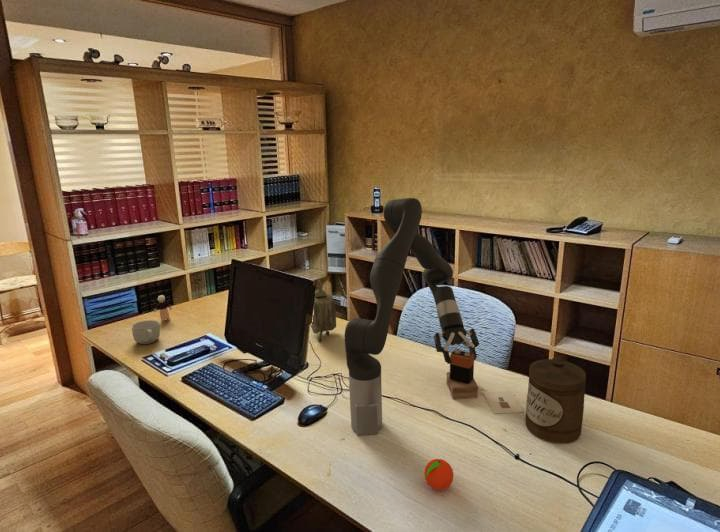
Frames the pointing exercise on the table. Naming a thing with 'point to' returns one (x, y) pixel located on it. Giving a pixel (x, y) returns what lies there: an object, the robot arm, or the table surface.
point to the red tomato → (438, 474)
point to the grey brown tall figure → (323, 312)
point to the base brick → (462, 388)
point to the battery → (462, 366)
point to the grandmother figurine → (163, 309)
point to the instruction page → (502, 402)
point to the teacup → (146, 331)
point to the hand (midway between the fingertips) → (461, 361)
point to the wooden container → (555, 400)
